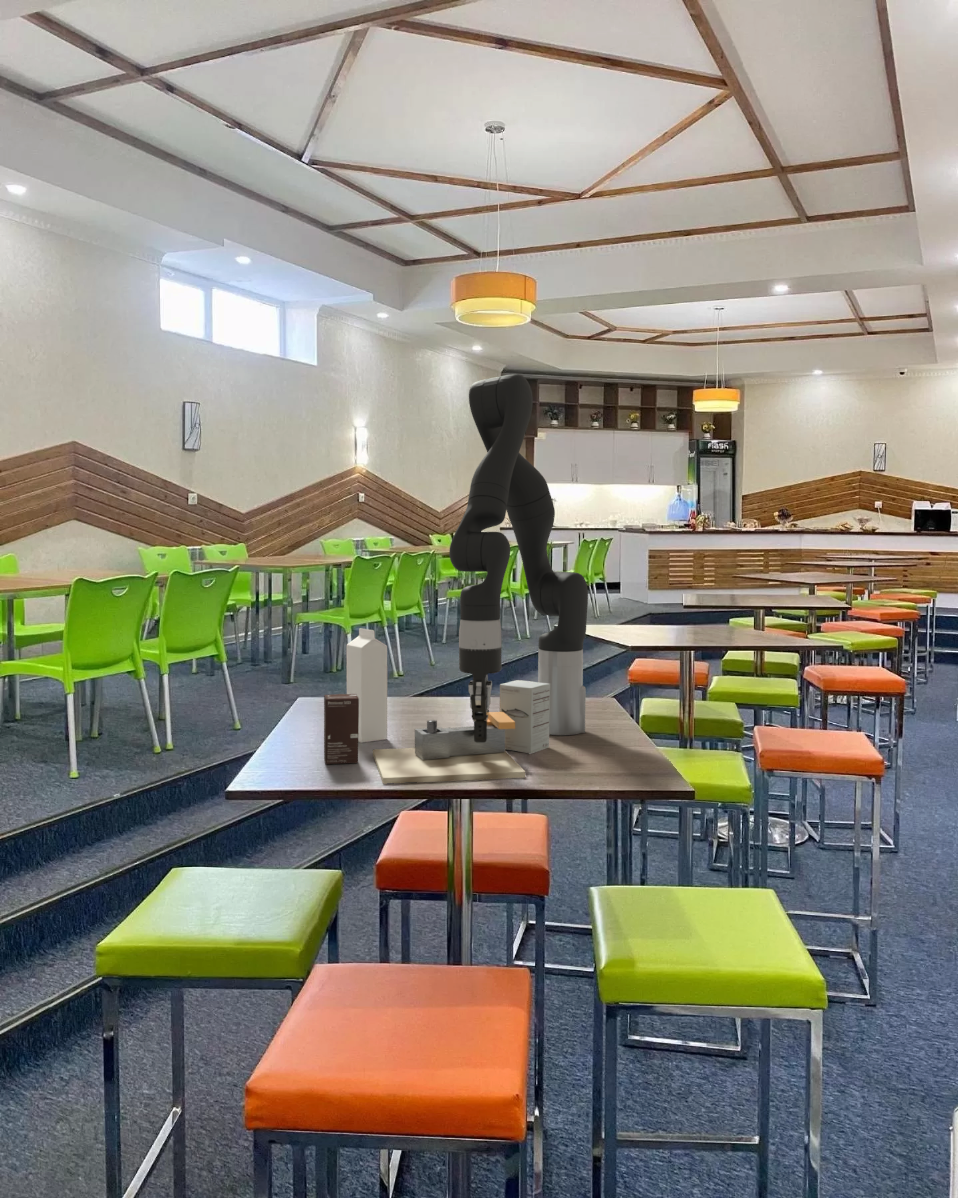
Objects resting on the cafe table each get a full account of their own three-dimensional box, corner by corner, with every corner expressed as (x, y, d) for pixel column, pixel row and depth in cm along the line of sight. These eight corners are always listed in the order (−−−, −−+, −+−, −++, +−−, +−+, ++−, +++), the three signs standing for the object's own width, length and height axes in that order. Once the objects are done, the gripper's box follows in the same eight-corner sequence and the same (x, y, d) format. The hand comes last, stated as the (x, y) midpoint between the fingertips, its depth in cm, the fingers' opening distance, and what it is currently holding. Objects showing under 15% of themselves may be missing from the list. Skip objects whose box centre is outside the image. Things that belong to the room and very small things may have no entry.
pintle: (442, 758, 174) (442, 718, 174) (445, 764, 170) (445, 722, 169) (418, 759, 173) (418, 719, 173) (421, 765, 169) (421, 723, 168)
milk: (361, 743, 187) (360, 631, 185) (346, 738, 192) (345, 628, 190) (388, 739, 191) (387, 629, 189) (372, 734, 196) (371, 627, 194)
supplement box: (497, 749, 182) (497, 683, 181) (518, 742, 188) (518, 679, 187) (530, 754, 178) (531, 687, 177) (550, 747, 184) (551, 682, 183)
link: (422, 759, 168) (422, 734, 168) (414, 753, 173) (414, 729, 173) (507, 753, 174) (507, 728, 173) (497, 747, 178) (497, 723, 178)
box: (325, 765, 169) (325, 698, 168) (323, 760, 173) (323, 694, 172) (359, 764, 170) (359, 697, 169) (357, 758, 174) (356, 693, 174)
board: (499, 749, 182) (499, 744, 181) (525, 777, 161) (525, 771, 161) (372, 754, 177) (372, 749, 177) (383, 784, 156) (383, 778, 156)
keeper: (503, 751, 181) (503, 711, 180) (514, 763, 171) (515, 722, 170) (482, 751, 180) (482, 712, 179) (493, 764, 170) (493, 722, 170)
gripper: (499, 649, 162) (499, 750, 163) (503, 640, 175) (503, 733, 176) (455, 649, 162) (456, 749, 164) (462, 640, 175) (462, 733, 177)
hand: (480, 741), depth 170 cm, fingers closed
